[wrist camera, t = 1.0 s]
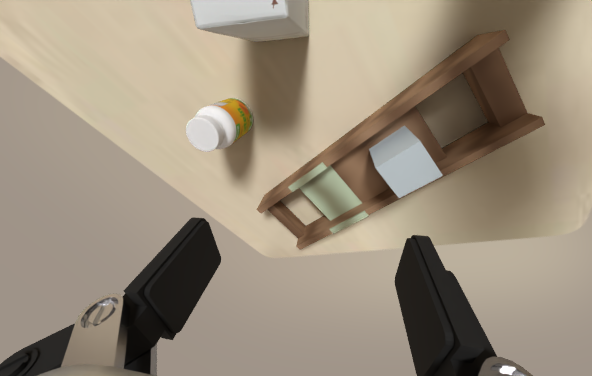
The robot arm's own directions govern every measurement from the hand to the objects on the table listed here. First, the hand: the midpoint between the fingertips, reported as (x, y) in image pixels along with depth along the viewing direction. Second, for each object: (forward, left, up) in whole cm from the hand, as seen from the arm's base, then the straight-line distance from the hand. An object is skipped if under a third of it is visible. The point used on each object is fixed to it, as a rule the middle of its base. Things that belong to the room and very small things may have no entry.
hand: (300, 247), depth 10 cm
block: (-5, +9, -21) cm, 24 cm away
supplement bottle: (+10, -9, -24) cm, 28 cm away
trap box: (-1, +9, -24) cm, 25 cm away
